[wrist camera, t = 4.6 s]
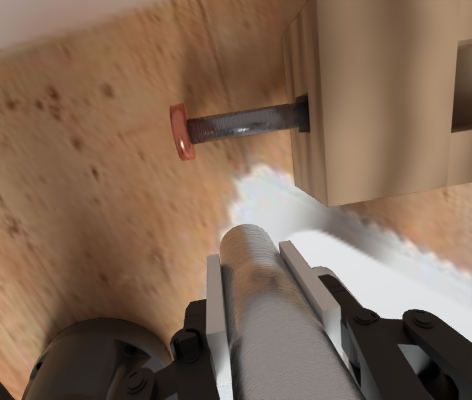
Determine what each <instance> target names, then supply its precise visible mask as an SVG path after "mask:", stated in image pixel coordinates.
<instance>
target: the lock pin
mask: <svg viewBox="0 0 472 400" xmlns="http://www.w3.org/2000/svg"><path fill="white" fill-rule="evenodd" d="M170 120H171V126H172V132H173V136H174V141H175V144H176V148H177V151H178V154H179V157H180V159H181V160H182V161H186V160H192V159H195V149H194V144H198V143H204V142H211V141H217V140H223V139H229V138H236V137H242V136H248V135H254V134H261V133H267V132H273V131H279V130H285V129H292V128H298V127H304V126H310V116H309V102H308V101H302V102H295V103H289V104H283V105H276V106H270V107H264V108H257V109H251V110H244V111H238V112H232V113H225V114H219V115H212V116H206V117H200V118H193V119H189V117H188V113H187V110H186V107H185V105H184V104H178V105H171V106H170Z"/></svg>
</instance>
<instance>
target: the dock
mask: <svg viewBox="0 0 472 400" xmlns="http://www.w3.org/2000/svg"><path fill="white" fill-rule="evenodd" d="M282 46H283V57H284V68H285V79H286V90H287V101H288V104H289V103H295V102H302V101H308V102H309V116H310V126H304V127H298V128H292V129H290V134H291V145H292V156H293V167H294V178H295V186H296V187H298V188H299V189H301V190H302V191H304V192H306V193H307V194H309V195H310V196H312V197H313V198H315V199H316V200H318V201H319V202H321V203H322V204H324V205H325V206H327V207H332V206H338V205H344V204H350V203H355V202H361V201H367V200H373V199H378V198H384V197H390V196H396V195H401V194H407V193H413V192H419V191H424V190H430V189H436V188H442V187H447V186H453V185H459V184H465V183H470V182H472V0H307V2H306V3H305V5H304V6H303V8H302V9H301V10H300V12H299V13H298V15H297V16H296V18H295V19H294V20H293V22H292V23H291V25H290V26H289V28H288V29H287V30H286V32H285V33H284V35H283V36H282Z"/></svg>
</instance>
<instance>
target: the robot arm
mask: <svg viewBox="0 0 472 400" xmlns="http://www.w3.org/2000/svg"><path fill="white" fill-rule="evenodd" d="M279 250H280V255H281V257H282V259H283V260H284V262H285V264H286V265H287V267H288V269H289V270H290V272H291V274H292V276H293V277H294V279H295V281H296V282H297V284H298V286H299V287H300V289H301V291H302V292H303V294H304V296H305V297H306V299H307V301H308V302H309V304H310V306H311V307H312V309H313V311H314V313H315V314H316V316H317V318H318V319H319V321H320V323H321V324H322V326H323V328H324V329H325V331H326V333H327V334H328V336H329V338H330V339H331V341H332V343H333V344H334V346H335V348H336V350H337V351H338V353H339V355H340V356H341V358H342V360H343V350H344V352H345V354H346V355H347V357H348V365H349V371H350V373H351V375H352V376H353V378H354V380H355V381H356V383H357V385H358V387H359V388H360V390H361V392H362V393H363V395H364V397H365V398H366V400H472V342H470V341H469V340H468V339H466V338H465V337H464V336H462V335H461V334H460V333H458V332H457V331H456V330H454V329H453V328H452V327H450V326H449V325H448V324H446V323H445V322H444V321H442V320H441V319H440V318H438V317H437V316H435V315H433V314H432V313H429V312H427V311H424V310H418V309H413V310H408V311H406V312H404V314H403V318H402V320H401V319H400V320H399V319H384V318H380V316H379V315H378V314H377V313H375V312H373V311H371V310H369V309H366V308H363V307H362V306H361V305H360V304H359V303H358V302H357V301H356V299H355V298H354V297H353V296H352V295H351V294H350V293H349V292H348V291H347V290H346V288H345V287H344V286H342V284H341V283H340V282H339V280H338V279H337V278H335V277H333V276H331V275H330V274H325V275H320V276H317V275H316V274H315V273H314V271H313V270H312V269H311V267H310V266H309V265H308V263H307V262H306V261H305V260H304V258H303V257H302V256H301V254H300V253H299V252H298V250H297V249H296V248H295V246H294V245H293V244H292V243H291V241H290V240H289V241H284V242H279ZM170 347H171V351H172V354H173V358H174V361H173V362H172V361H171V358H170V355H169V353H168V351H167V349H166V347H165V346H164V344H163V343H162V342H161V341H160V340H159V339H158V338H157V337H156V336H155V335H154V334H153V333H151V332H150V331H148V330H147V329H145V328H143V327H141V326H139V325H137V324H134V323H131V322H128V321H124V320H119V319H108V318H103V319H92V320H87V321H83V322H80V323H77V324H74V325H72V326H70V327H68V328H66V329H65V330H63V331H62V332H61V333H59V334H58V335H57V336H56V337H55V338H54V339H53V340H52V341H51V343H50V344H49V345H48V346H47V348H46V349H45V350H44V352H43V353H42V354H41V355H40V357H39V358H38V360H37V362H36V363H35V365H34V367H33V370H32V373H31V375H30V380H29V382H28V384H27V387H26V389H25V391H24V394H23V397H22V399H21V400H220V397H219V393H218V389H217V385H218V387H222V386H226V385H231V384H232V379H231V368H230V358H229V343H228V333H227V322H226V311H225V301H224V290H223V279H222V269H221V263H220V258H219V254H215V255H210V256H207V299H203V300H198V301H193V302H190V304H189V305H188V307H187V308H186V312H185V319H184V327H183V329H181V330H179V331H178V332H176V333H175V334H174V336H173V337H172V339H171V342H170ZM0 400H15V399H14V398H13V397H12V396H11V394H10V393H9V392H8V391H7V389H6V388H5V387H4V386H3V385H2V383H1V382H0Z"/></svg>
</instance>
